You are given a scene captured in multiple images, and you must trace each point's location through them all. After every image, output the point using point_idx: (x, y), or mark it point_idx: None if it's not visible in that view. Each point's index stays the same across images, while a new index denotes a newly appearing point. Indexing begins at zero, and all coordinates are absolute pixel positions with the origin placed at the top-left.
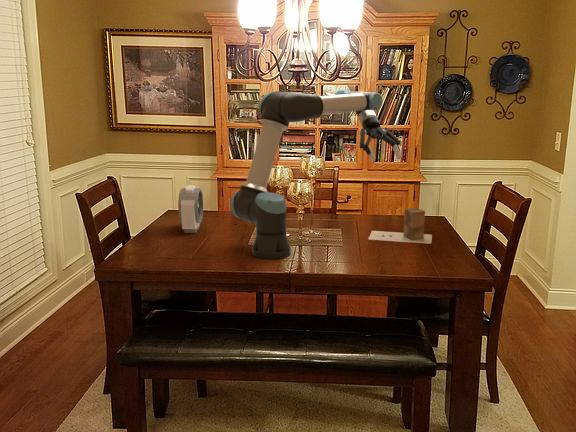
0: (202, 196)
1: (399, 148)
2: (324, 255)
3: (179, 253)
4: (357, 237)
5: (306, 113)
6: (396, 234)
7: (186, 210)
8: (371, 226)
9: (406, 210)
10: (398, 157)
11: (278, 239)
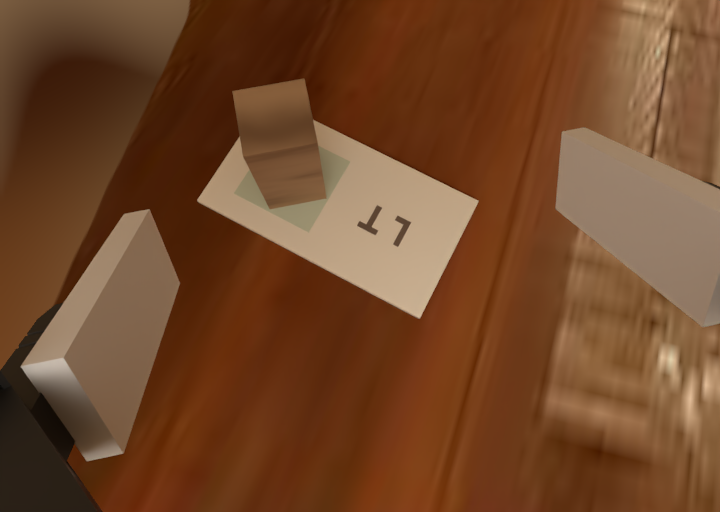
0: None
1: (23, 340)
2: (673, 82)
3: None
4: (505, 256)
5: None
6: (338, 238)
7: None
8: (387, 416)
9: (314, 129)
10: (165, 267)
11: None
